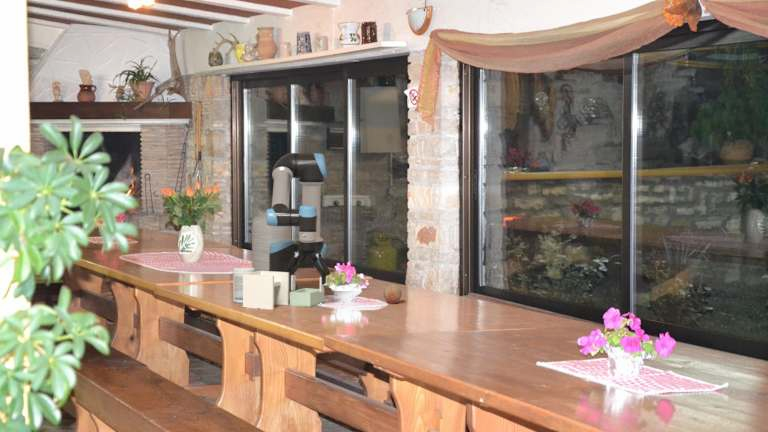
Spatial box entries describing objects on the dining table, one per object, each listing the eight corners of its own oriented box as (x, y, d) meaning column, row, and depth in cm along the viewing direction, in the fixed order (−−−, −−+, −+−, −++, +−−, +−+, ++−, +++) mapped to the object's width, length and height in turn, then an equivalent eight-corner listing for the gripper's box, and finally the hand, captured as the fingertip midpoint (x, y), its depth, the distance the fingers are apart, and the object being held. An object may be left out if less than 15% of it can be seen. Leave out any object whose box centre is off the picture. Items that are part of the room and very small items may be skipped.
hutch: (260, 302, 456) (260, 270, 455) (289, 304, 451) (289, 272, 450) (242, 307, 442) (243, 274, 441) (272, 309, 437) (272, 276, 436)
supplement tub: (258, 302, 456) (259, 269, 455) (239, 304, 450) (239, 270, 449) (249, 300, 464) (249, 266, 463) (229, 301, 458) (229, 268, 457)
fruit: (380, 303, 457) (381, 285, 456) (387, 301, 464) (387, 283, 464) (398, 305, 454) (398, 286, 454) (404, 302, 462) (404, 284, 461)
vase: (257, 274, 559) (257, 211, 557) (294, 275, 557) (295, 211, 555) (247, 278, 539) (247, 213, 537) (286, 279, 537) (286, 214, 535)
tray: (290, 305, 448) (290, 291, 447) (304, 301, 461) (304, 288, 460) (310, 307, 444) (310, 293, 444) (324, 303, 457) (324, 289, 457)
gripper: (277, 241, 452) (277, 290, 453) (330, 243, 443) (330, 293, 443) (285, 240, 459) (285, 288, 460) (337, 242, 449) (337, 291, 450)
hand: (307, 291), depth 452 cm, fingers open, 13 cm apart
